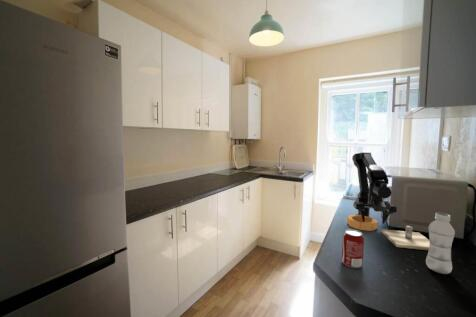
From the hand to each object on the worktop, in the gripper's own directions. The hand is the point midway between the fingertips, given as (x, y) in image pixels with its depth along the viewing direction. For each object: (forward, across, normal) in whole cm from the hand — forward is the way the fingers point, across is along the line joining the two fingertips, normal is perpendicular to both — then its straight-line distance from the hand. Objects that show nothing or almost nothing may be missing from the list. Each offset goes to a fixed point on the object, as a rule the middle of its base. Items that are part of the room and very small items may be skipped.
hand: (373, 222), depth 114 cm
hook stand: (+2, +10, -14) cm, 17 cm away
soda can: (+2, -20, -41) cm, 46 cm away
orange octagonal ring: (+2, -6, 0) cm, 6 cm away
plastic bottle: (+2, +8, -38) cm, 39 cm away
